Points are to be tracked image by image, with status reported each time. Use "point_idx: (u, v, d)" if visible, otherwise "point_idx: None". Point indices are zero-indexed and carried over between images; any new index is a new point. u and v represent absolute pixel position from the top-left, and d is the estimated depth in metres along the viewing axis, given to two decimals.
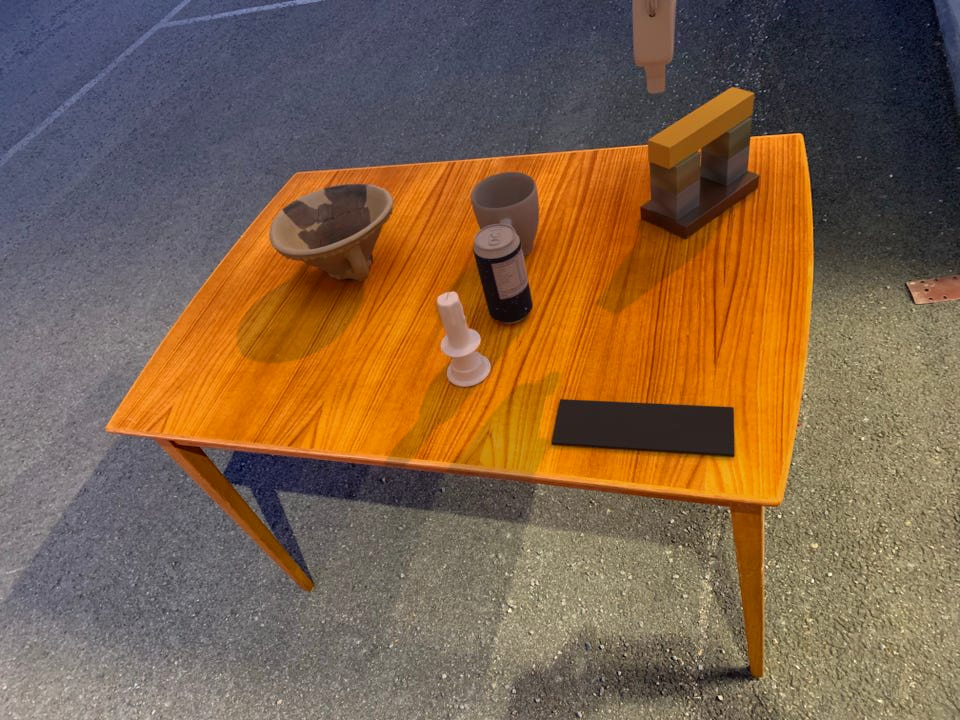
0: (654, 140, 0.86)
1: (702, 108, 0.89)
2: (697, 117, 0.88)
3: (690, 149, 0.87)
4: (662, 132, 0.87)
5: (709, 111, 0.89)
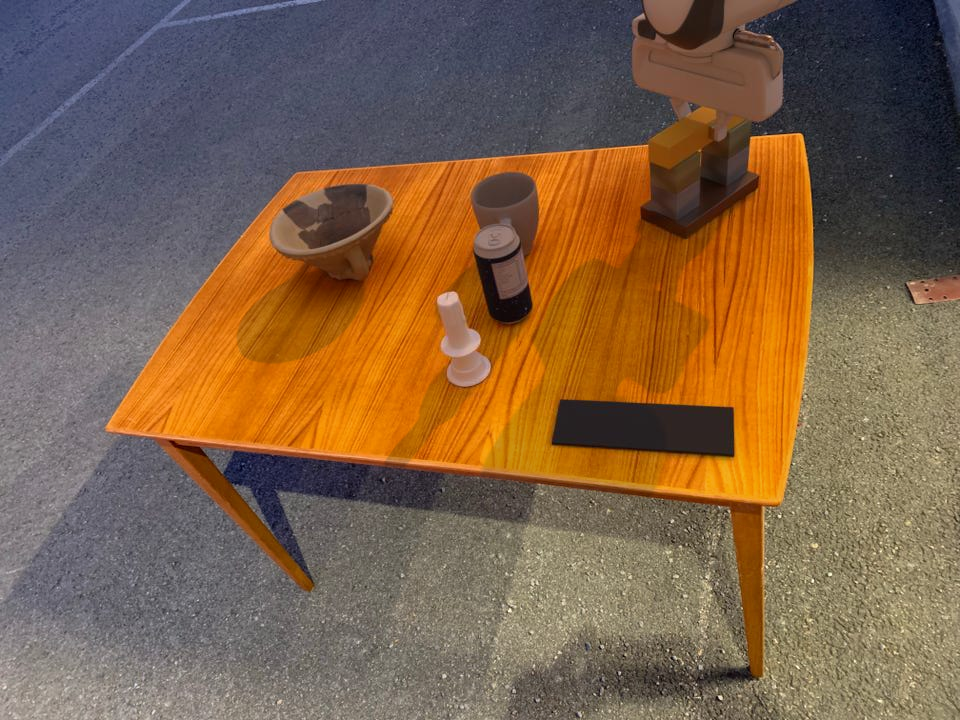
0: (655, 140, 0.86)
1: (702, 108, 0.89)
2: (697, 118, 0.88)
3: (691, 150, 0.87)
4: (662, 132, 0.87)
5: (709, 111, 0.88)
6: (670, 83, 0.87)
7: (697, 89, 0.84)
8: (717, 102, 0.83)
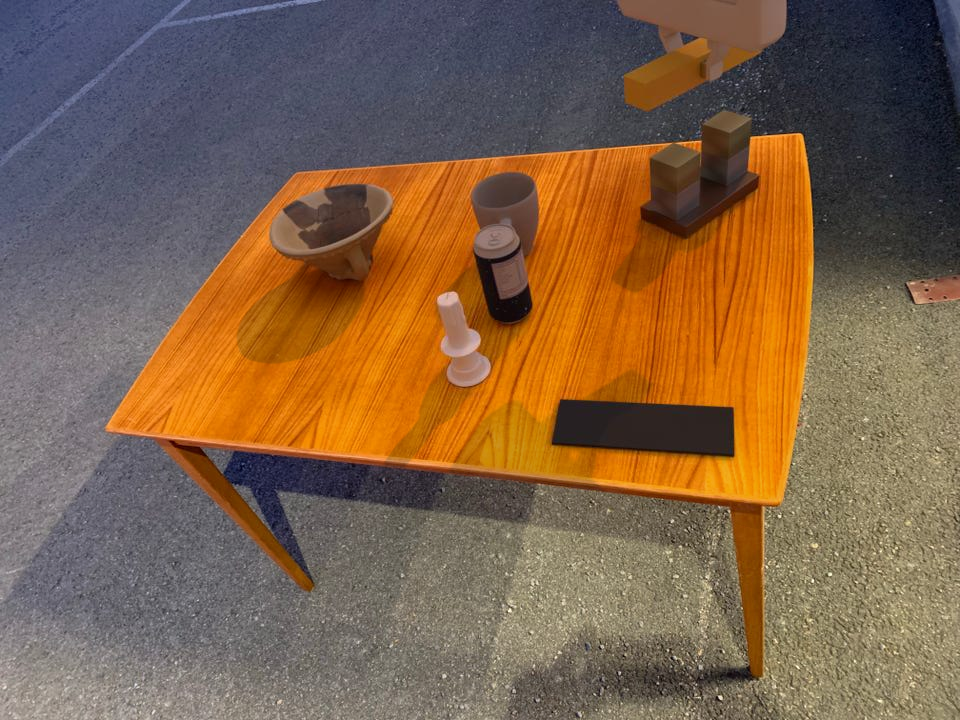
0: (631, 75, 0.71)
1: (697, 41, 0.74)
2: (688, 51, 0.72)
3: (676, 89, 0.72)
4: (642, 67, 0.72)
5: (704, 44, 0.73)
6: (656, 7, 0.72)
7: (685, 13, 0.69)
8: (707, 28, 0.67)
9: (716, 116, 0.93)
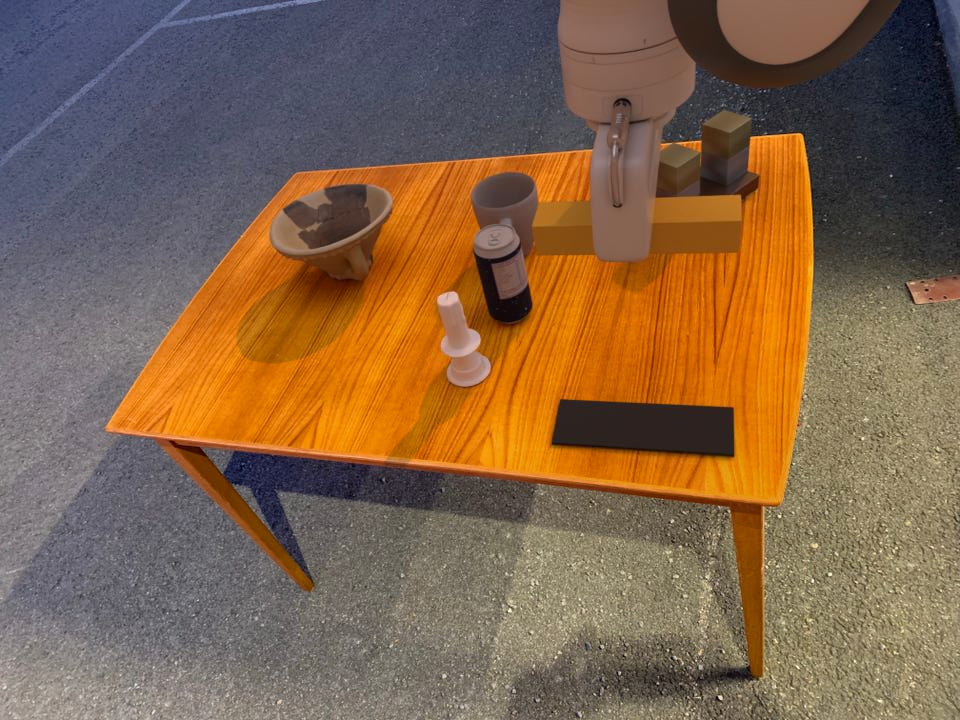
0: (541, 207, 0.58)
1: None
2: None
3: (581, 247, 0.57)
4: (565, 203, 0.58)
5: None
6: None
7: None
8: None
9: (716, 116, 0.93)
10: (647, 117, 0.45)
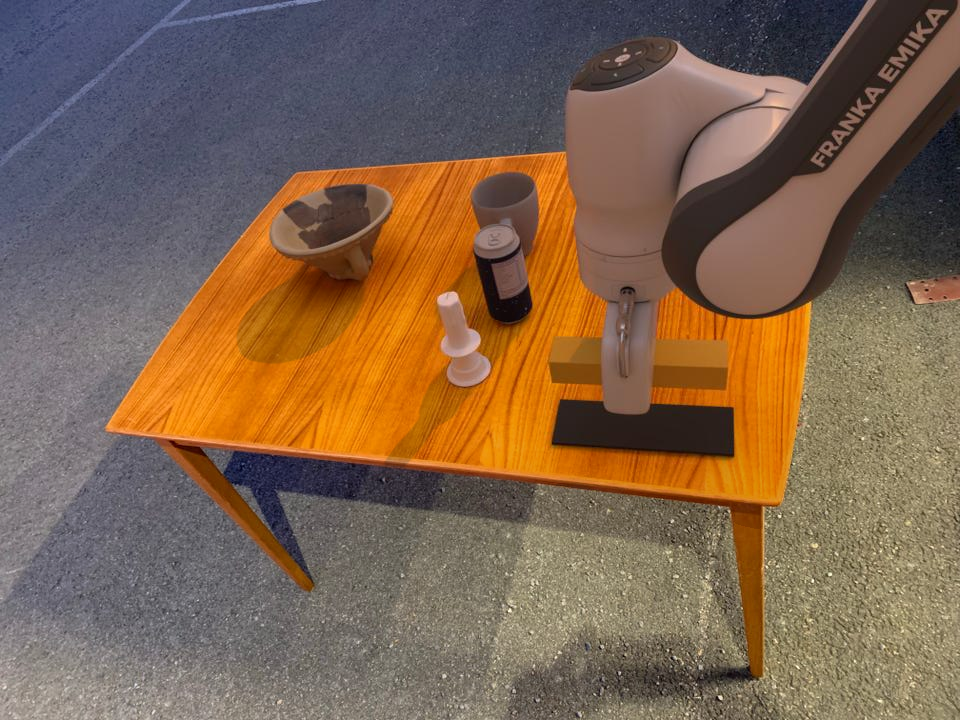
0: (556, 342, 0.67)
1: None
2: None
3: (591, 379, 0.66)
4: (577, 339, 0.67)
5: None
6: None
7: None
8: None
9: None
10: (648, 299, 0.54)
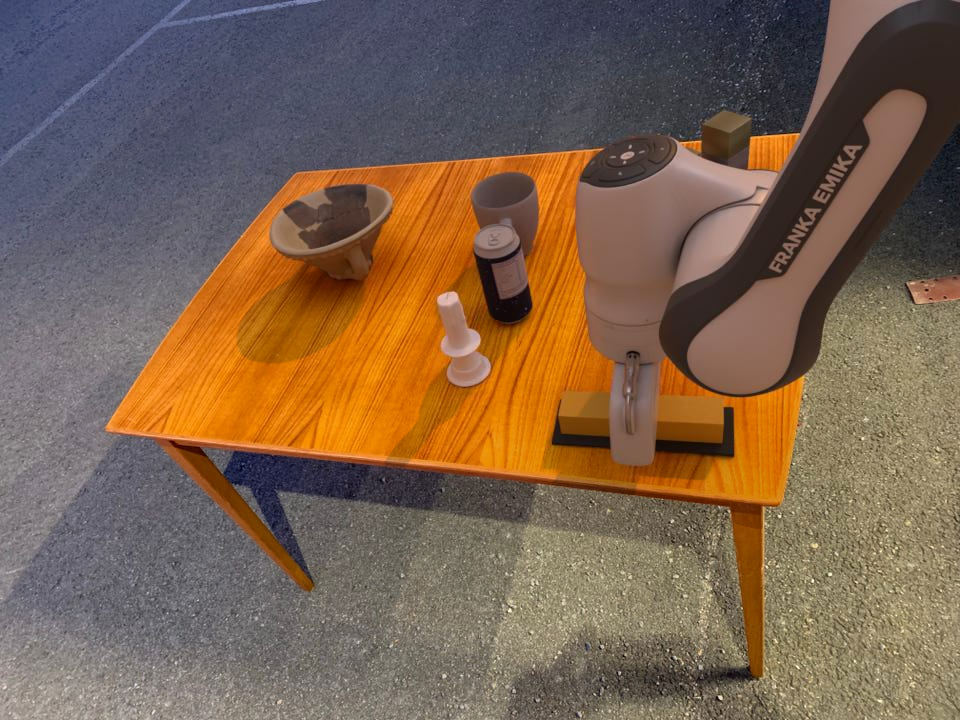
0: (565, 396, 0.73)
1: None
2: None
3: (597, 431, 0.71)
4: (584, 393, 0.72)
5: None
6: None
7: None
8: None
9: (716, 116, 0.93)
10: (652, 361, 0.59)
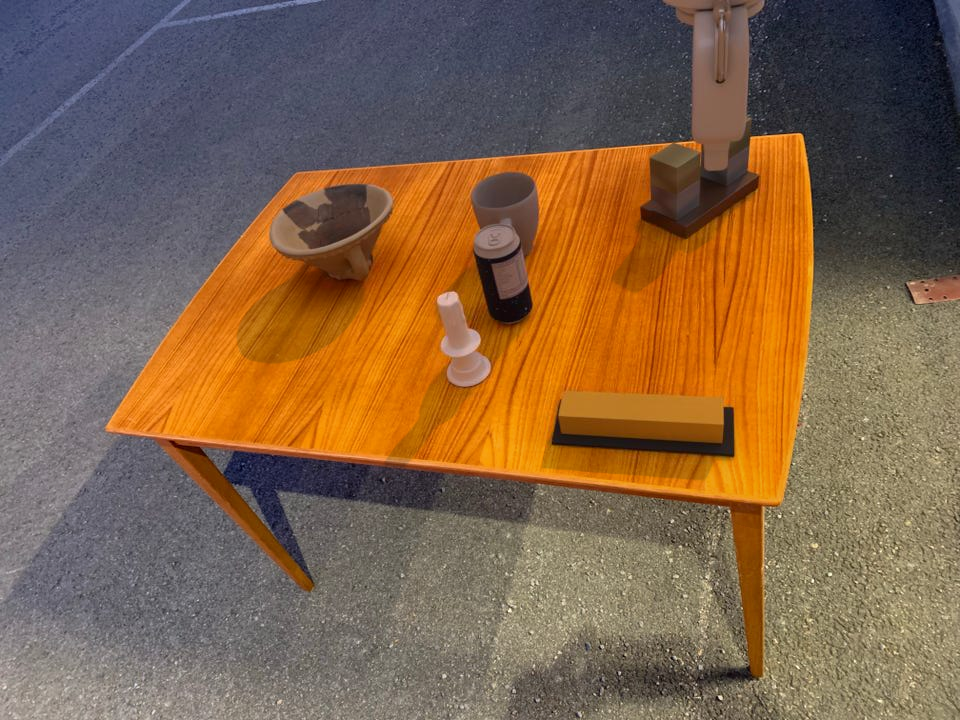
0: (565, 396, 0.73)
1: (655, 398, 0.70)
2: (632, 405, 0.70)
3: (597, 431, 0.71)
4: (584, 393, 0.72)
5: (654, 407, 0.69)
6: None
7: None
8: None
9: None
10: (744, 1, 0.48)
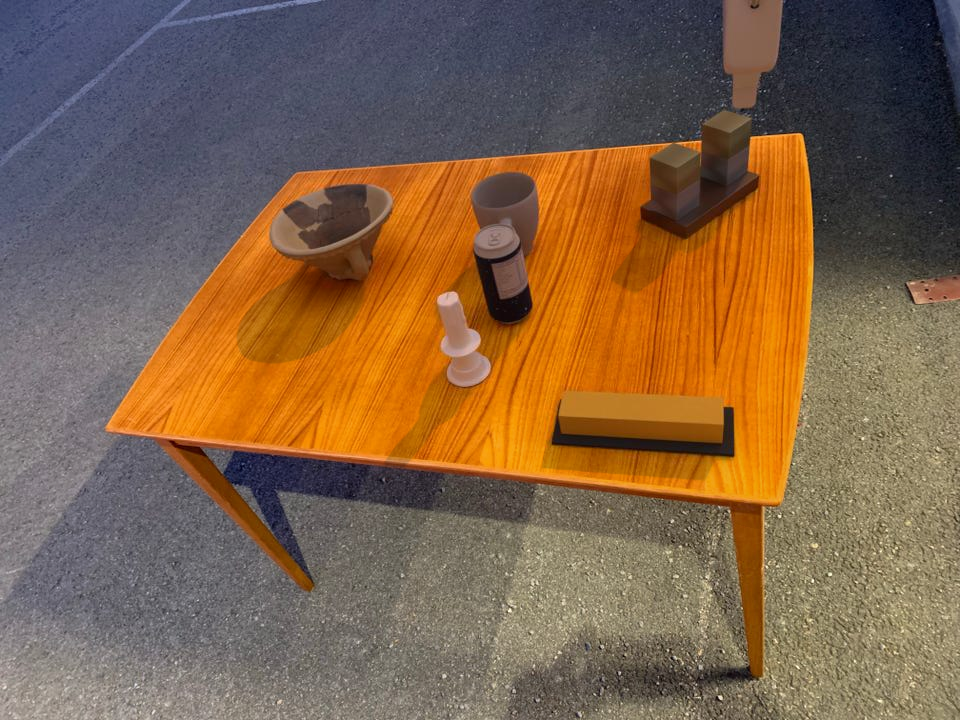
0: (565, 396, 0.73)
1: (655, 398, 0.70)
2: (632, 405, 0.70)
3: (597, 431, 0.71)
4: (584, 393, 0.72)
5: (654, 407, 0.69)
6: None
7: None
8: (723, 27, 0.54)
9: (716, 116, 0.93)
10: None
